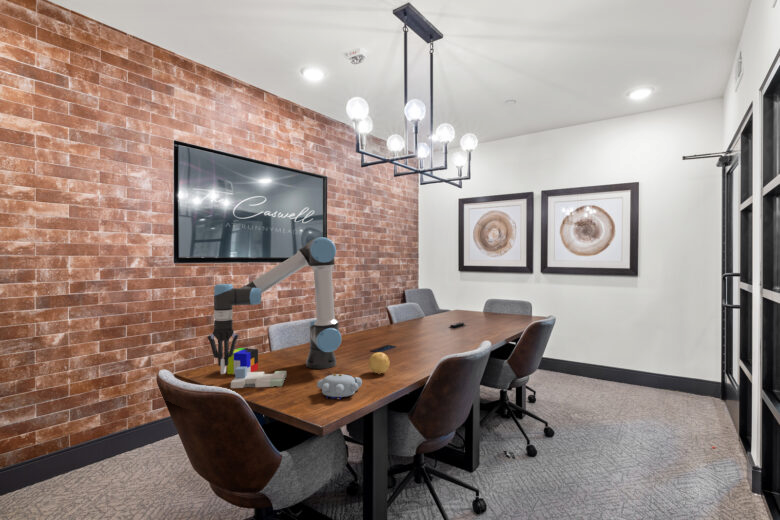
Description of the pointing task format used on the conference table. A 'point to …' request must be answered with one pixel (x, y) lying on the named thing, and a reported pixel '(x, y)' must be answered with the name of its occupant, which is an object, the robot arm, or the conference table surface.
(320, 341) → the robot arm
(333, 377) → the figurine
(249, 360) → the puzzle toy
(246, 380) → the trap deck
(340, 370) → the conference table surface
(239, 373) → the block
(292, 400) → the conference table surface
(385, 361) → the stress ball
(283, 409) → the conference table surface
